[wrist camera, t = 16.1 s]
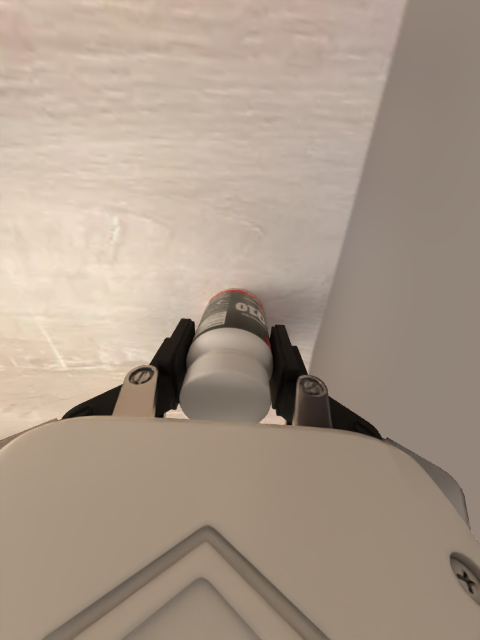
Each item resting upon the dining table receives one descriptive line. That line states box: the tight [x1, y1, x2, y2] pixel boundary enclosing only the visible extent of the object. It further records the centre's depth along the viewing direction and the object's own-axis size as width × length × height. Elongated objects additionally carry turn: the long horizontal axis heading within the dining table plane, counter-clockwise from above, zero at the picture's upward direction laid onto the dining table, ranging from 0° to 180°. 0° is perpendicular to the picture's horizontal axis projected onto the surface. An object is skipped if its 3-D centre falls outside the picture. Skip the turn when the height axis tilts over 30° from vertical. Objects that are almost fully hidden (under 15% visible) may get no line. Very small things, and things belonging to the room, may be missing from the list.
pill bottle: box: [179, 289, 273, 423], centre depth 12 cm, size 5×5×8 cm
